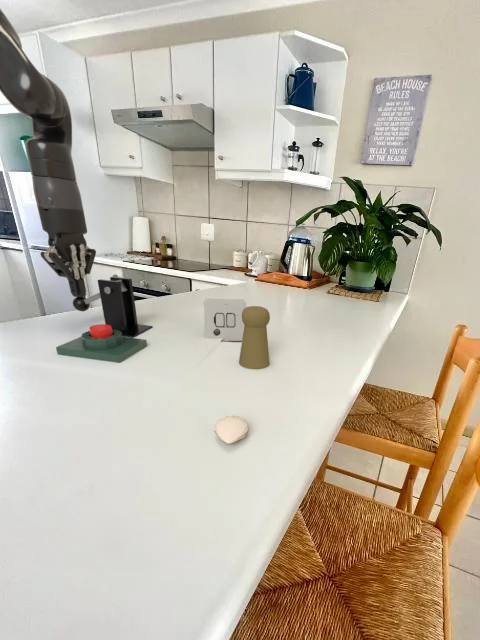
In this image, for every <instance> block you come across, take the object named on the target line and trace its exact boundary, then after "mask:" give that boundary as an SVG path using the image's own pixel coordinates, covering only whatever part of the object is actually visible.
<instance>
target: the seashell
mask: <svg viewBox="0 0 480 640" xmlns="http://www.w3.org/2000/svg"><path fill="white" fill-rule="evenodd" d="M213 430H214V433H215V434H216V436H217V438H218V439H219V440H221V441H223V442H224V443H225V444H227V445H228V444H229V445H230V444H233V443H236V442H238V441H239V440H242V439H244V438H245V437H246V435H247V434H248V432H249V423H248V422H247V421H246V420H245V419H244V418H242V417H240V416H236V415H230V416H229V415H227V416H224V417H222V418H219V419H218V420H216V422H215V424H214V429H213Z"/></svg>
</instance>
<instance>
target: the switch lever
mask: <svg viewBox="0 0 480 640" xmlns="http://www.w3.org/2000/svg"><path fill="white" fill-rule="evenodd" d="M117 281H120V283H121V290H122V293H123V292H125V291H127V289H126V287H125V285H124V283H123V281H122V280H117ZM98 300H101V297H100V292H98V293H95V294H93V295H91V296H89V297H87V298H86V296H83V297H74V299H73V300H72V307H73V308H74V309H75V310H76V311H78V312H87V311H88V310H90V307H91V303H93V302H97V301H98Z"/></svg>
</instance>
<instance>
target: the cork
mask: <svg viewBox="0 0 480 640" xmlns="http://www.w3.org/2000/svg"><path fill="white" fill-rule="evenodd" d="M270 319H271V314H270V311H269V310H268V309H267V308H266V307H264V306H259V305H249V306H246V308H245V309H244V310H243V311H242V321H243V323H244V332H243V338H242V341H241V346H240V352H239V359H238V364H239V365H240V367H242V368H245V369H250V370H262V369H266V368H268V367H269V366H270V354H269V353H270V352H269V342H268V341H269V340H268V330H267V329H268V328H267V327H268V326H267V325H269V323H270Z"/></svg>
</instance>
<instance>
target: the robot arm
mask: <svg viewBox="0 0 480 640" xmlns="http://www.w3.org/2000/svg"><path fill="white" fill-rule="evenodd" d="M0 93H1V94H2V96H3V97H5V99H6V100H7V101H8V102H9V104H10V105H12V107H13V108H14V109H16V110H17V111H18V112H19V113H20V114H22V115H23V116H25V117H27V118H29V119H31V129H32V137H30V138H28V139H26V141H25V142H24V143H25V144H24V146H25V147H24V148H25V153H26V157H27V162H28V166H29V171H30V175H31V180H32V189H33V195H34V199H35V203H36V208H37V211H38V215H39V220H40V224H41V227H42V231H43V232H45V233H46V234H47V235H48V240H47V244H48V248H47V249H46V251H41V252H40V257H41V258H42V259H43V261H44V262H45V263H46V264H47V265H48V266H49V267H50V268H51V269H52V270H53V272H55V274H56V275H57V276H58V277H61V278H62V277H63V278H65V279H67V280H68V286H69V290H70V293H71V295H72V296H73V297H74V298H76V297H86V296H87V288H86V282H85V278H86V276H87V275H90V274H91V272H92V269H93V265H94V262H95V259H96V256H97V251H96V249H95V248H90V247H89V246H88V244H87V240H86V237H85V236H84V235H87V233H88V227H87V221H86V217H85V209H84V205H83V200H82V195H81V192H80V191H81V190H80V189H79V185H78V180H77V176H76V171H75V165H74V159H73V155H72V152H73V151H72V148H73V119H72V113H71V109H70V104H69V102H68V99H67V97H66V95H65V94H64V91H63V89H61V88H60V86H58V84H56V83H55V82H54V81H53V80H52V79H50V78H49V77H47V76H46V75H45V74H42V72H40V71H39V70H38V69H37V68H36V66H35V65H34V64H33V63H32V61H31V60H30V59H29V57H28V56H27V54H26V53H25V51H24V50H23V45H22V41H21V39H20V36H19V34H18V32H17V30H16V29H15V27H14V26H13V25H12V23H11V22H10V20H9V18H8V17H7V16H6V14H5V13H4V12H3V10H2V9H1V8H0Z"/></svg>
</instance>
